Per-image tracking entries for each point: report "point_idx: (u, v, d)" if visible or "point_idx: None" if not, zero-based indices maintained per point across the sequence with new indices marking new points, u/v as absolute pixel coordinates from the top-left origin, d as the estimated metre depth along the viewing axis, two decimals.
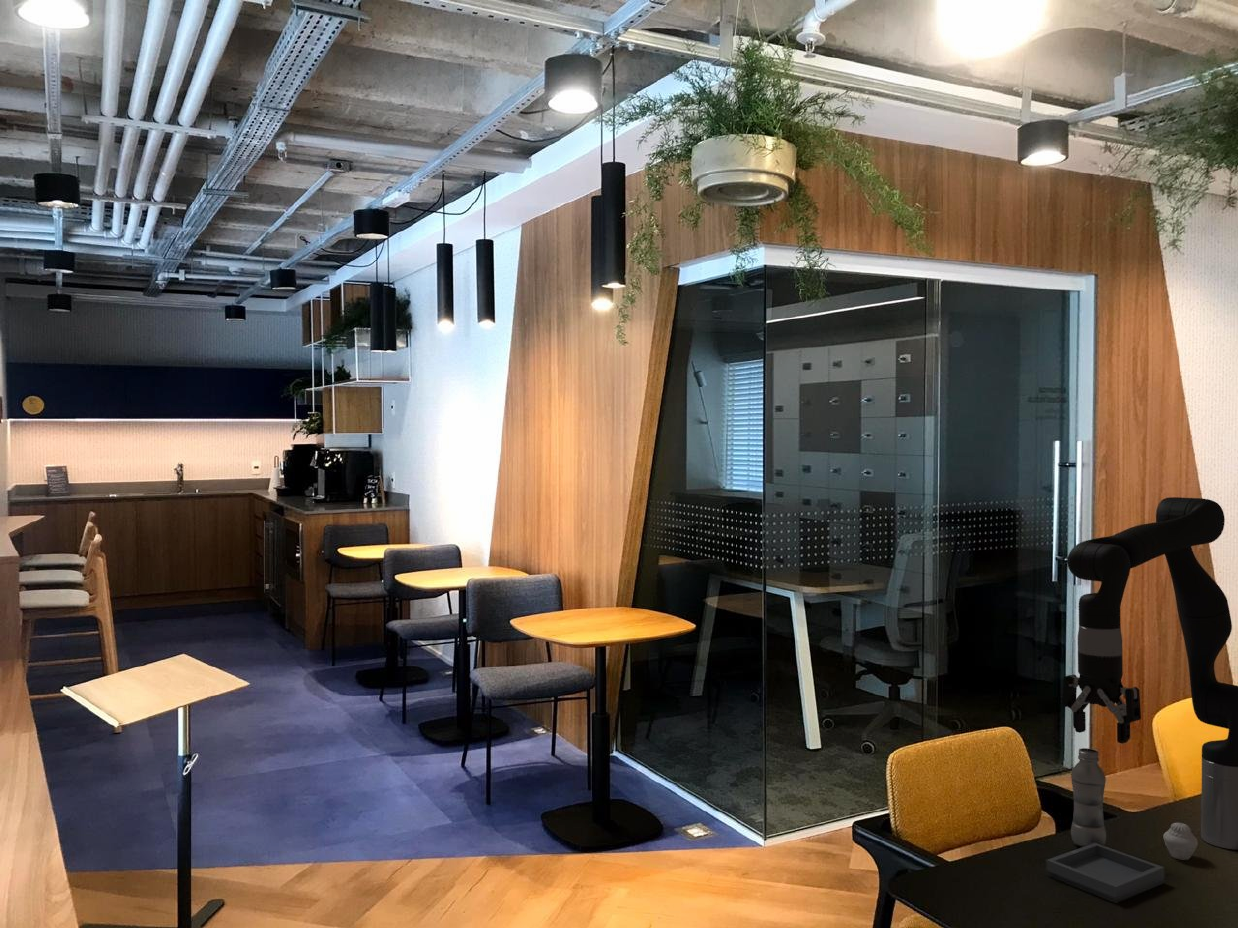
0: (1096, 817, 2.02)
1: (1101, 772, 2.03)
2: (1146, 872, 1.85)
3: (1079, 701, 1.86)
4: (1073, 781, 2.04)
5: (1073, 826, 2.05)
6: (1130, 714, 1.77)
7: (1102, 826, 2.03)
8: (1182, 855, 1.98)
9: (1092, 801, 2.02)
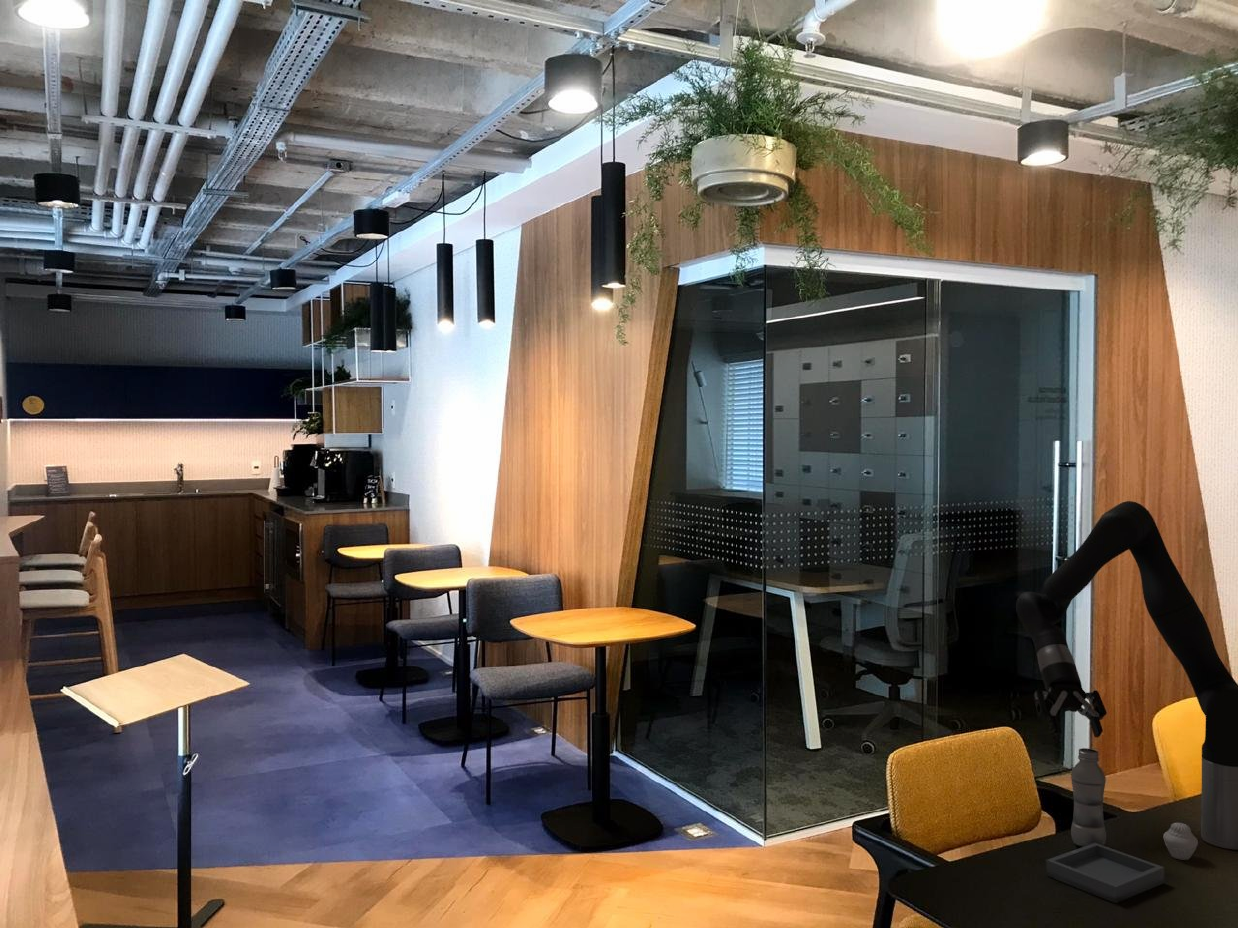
0: (1096, 817, 2.02)
1: (1101, 772, 2.03)
2: (1146, 872, 1.85)
3: None
4: (1073, 781, 2.04)
5: (1073, 826, 2.05)
6: None
7: (1102, 826, 2.03)
8: (1182, 855, 1.98)
9: (1092, 801, 2.02)
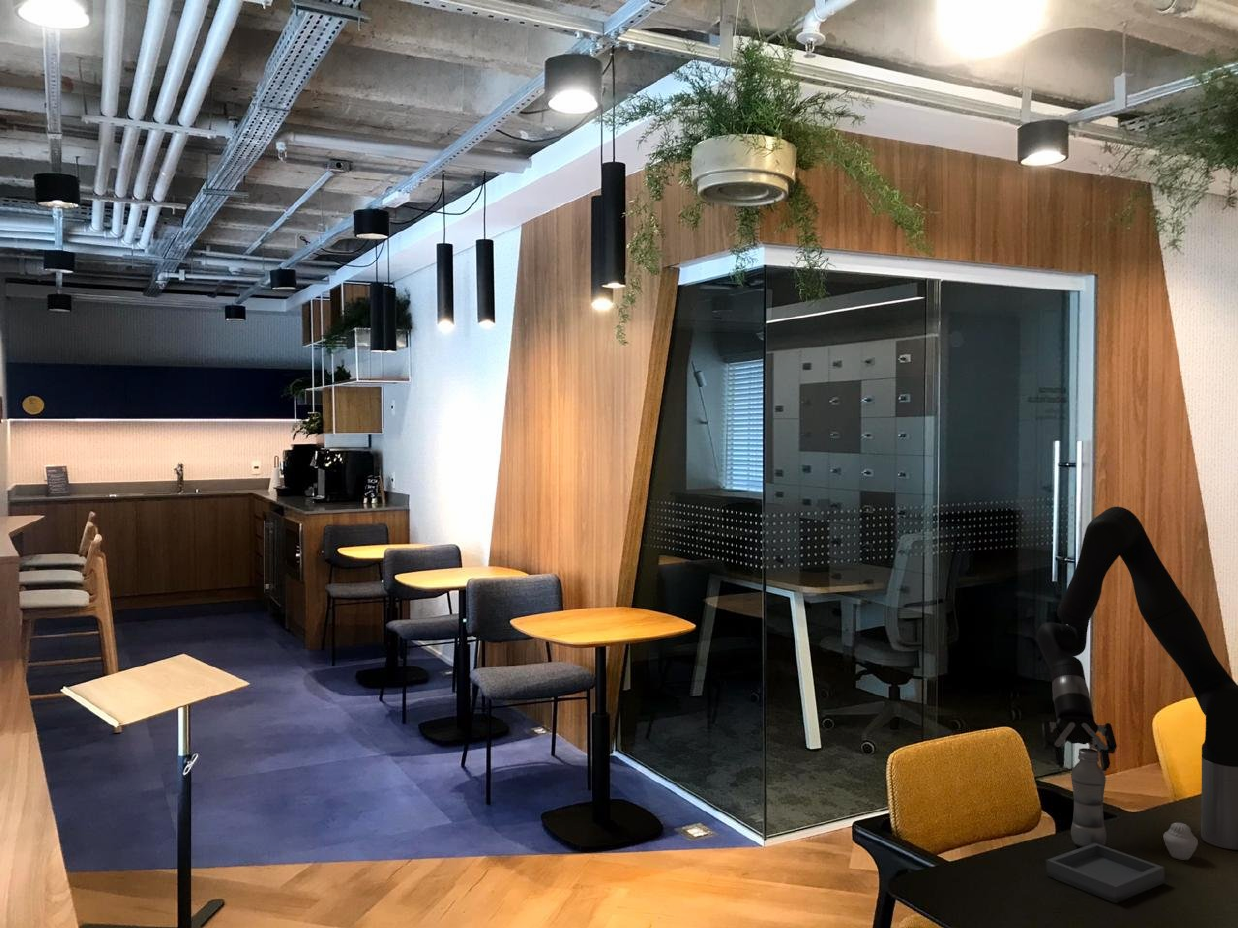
0: (1096, 817, 2.02)
1: (1101, 772, 2.03)
2: (1146, 872, 1.85)
3: None
4: (1073, 781, 2.04)
5: (1073, 826, 2.05)
6: None
7: (1102, 826, 2.03)
8: (1182, 855, 1.98)
9: (1092, 801, 2.02)
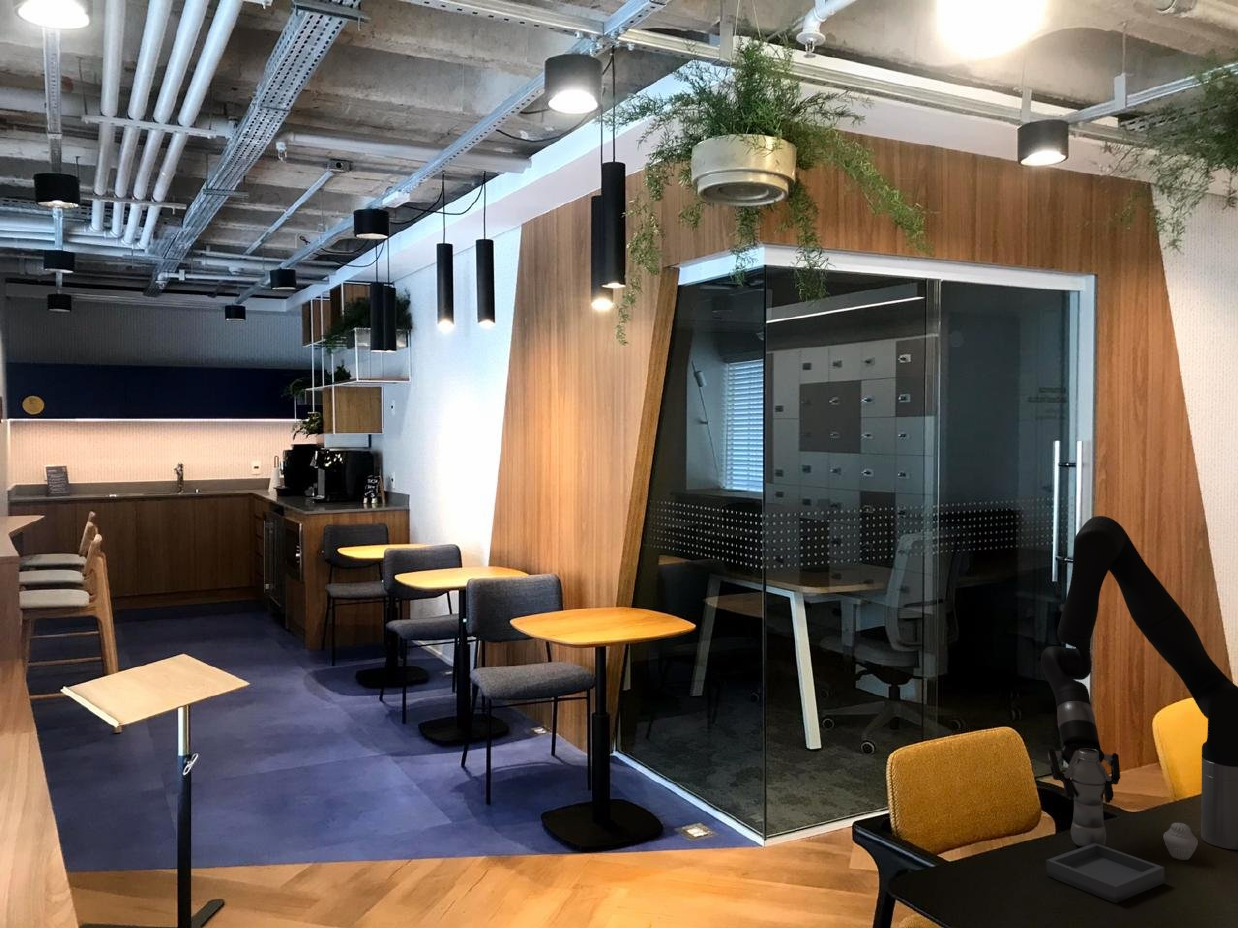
0: (1096, 817, 2.02)
1: (1101, 772, 2.03)
2: (1146, 872, 1.85)
3: None
4: (1073, 781, 2.04)
5: (1073, 826, 2.05)
6: None
7: (1102, 826, 2.03)
8: (1182, 855, 1.98)
9: (1092, 801, 2.02)
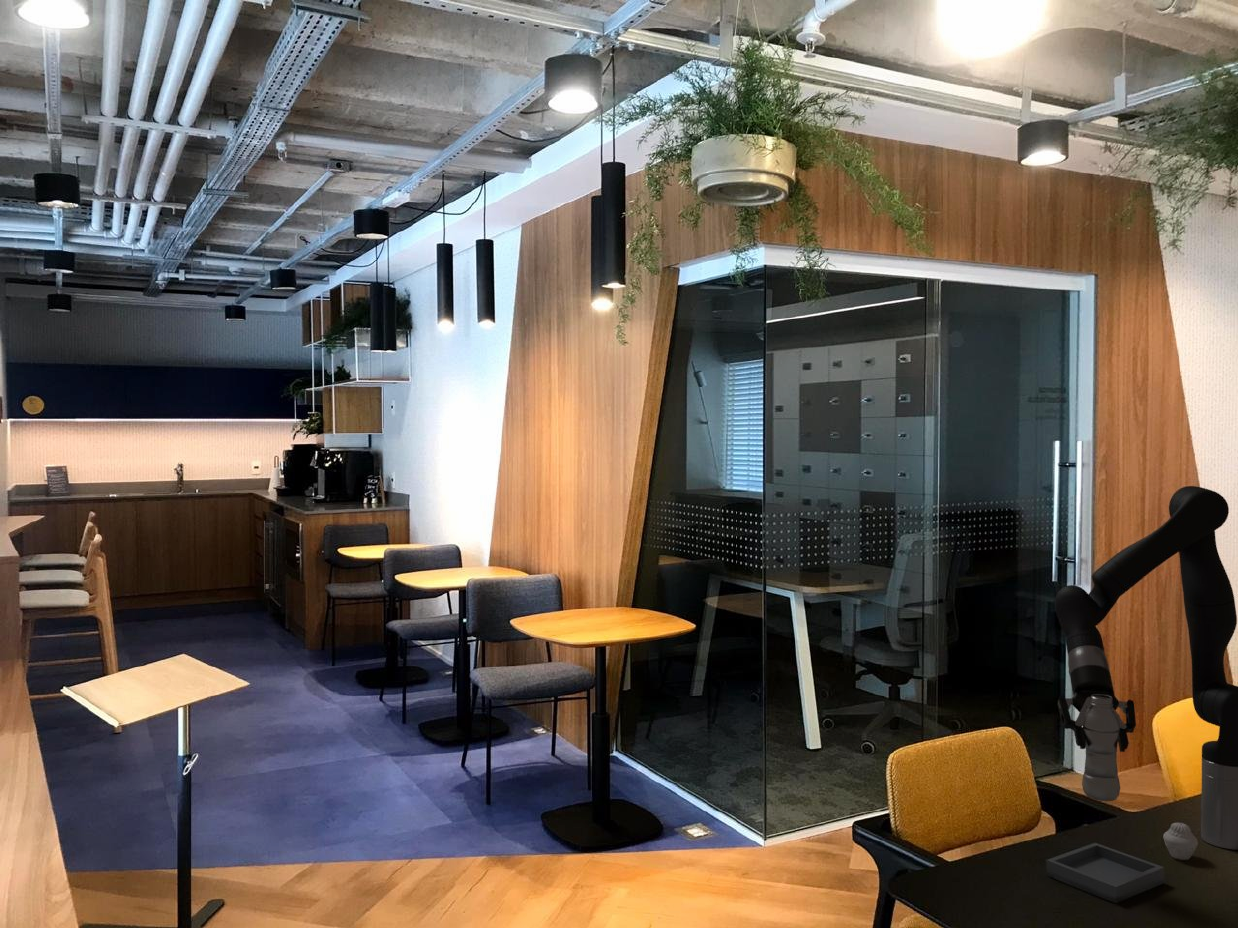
0: (1109, 766, 1.88)
1: (1115, 719, 1.89)
2: (1146, 872, 1.85)
3: None
4: (1085, 729, 1.90)
5: (1084, 777, 1.91)
6: None
7: (1116, 777, 1.89)
8: (1182, 855, 1.98)
9: (1105, 750, 1.88)
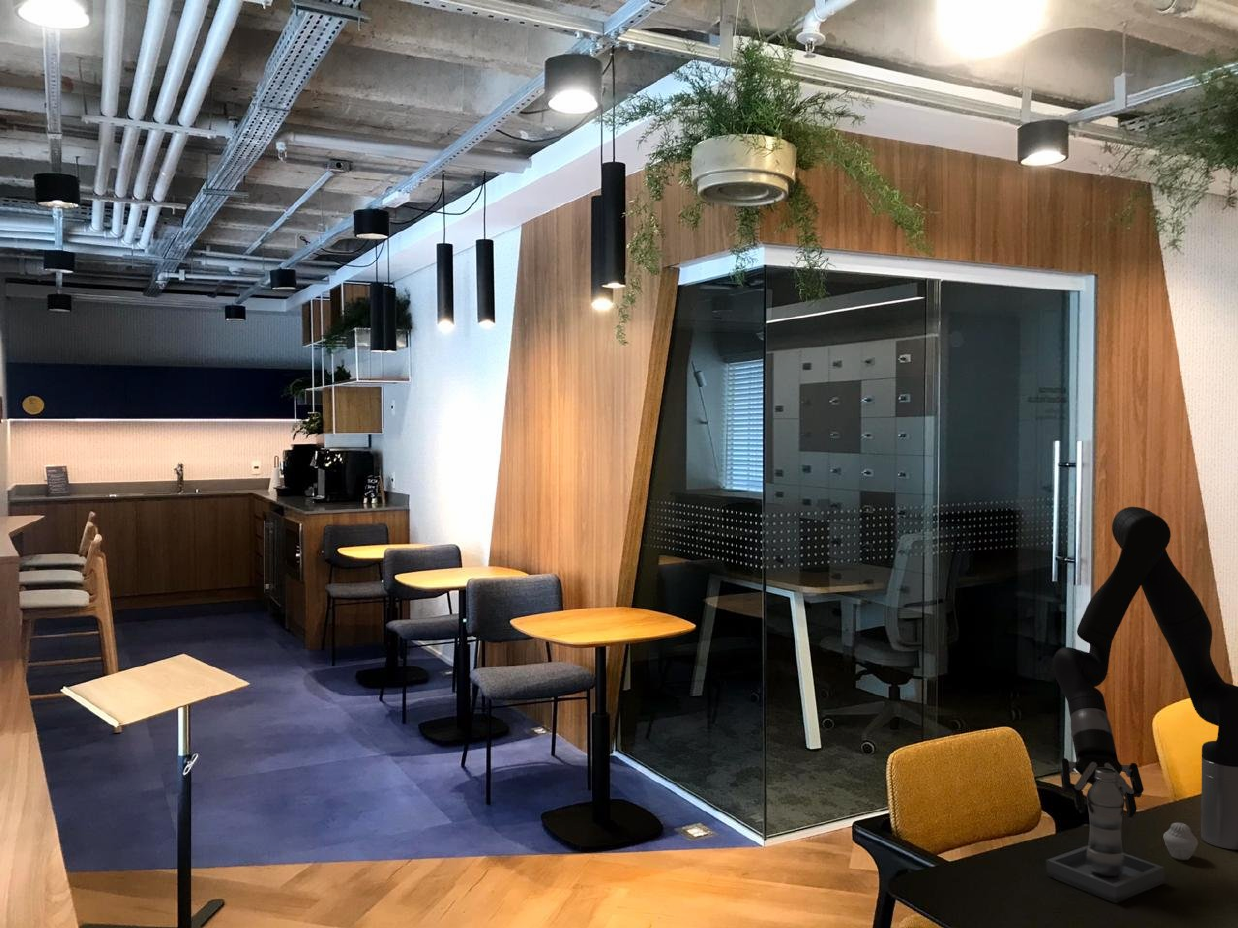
0: (1114, 842, 1.87)
1: (1120, 793, 1.87)
2: (1146, 872, 1.85)
3: None
4: (1089, 803, 1.89)
5: (1089, 851, 1.89)
6: None
7: (1120, 852, 1.87)
8: (1182, 855, 1.98)
9: (1110, 825, 1.86)
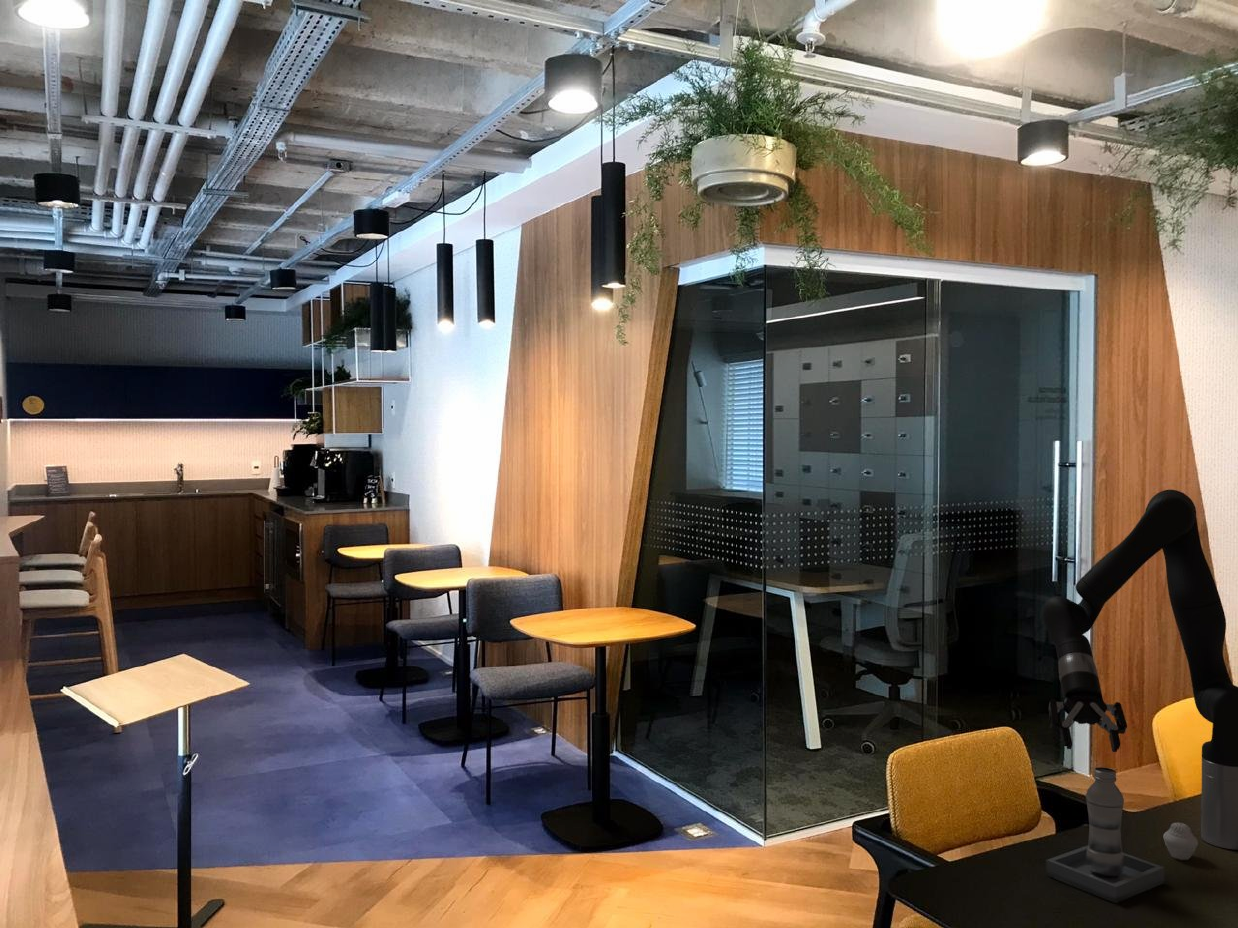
0: (1113, 841, 1.87)
1: (1119, 793, 1.87)
2: (1146, 872, 1.85)
3: None
4: (1088, 803, 1.89)
5: (1088, 851, 1.89)
6: None
7: (1120, 852, 1.87)
8: (1182, 855, 1.98)
9: (1109, 825, 1.87)
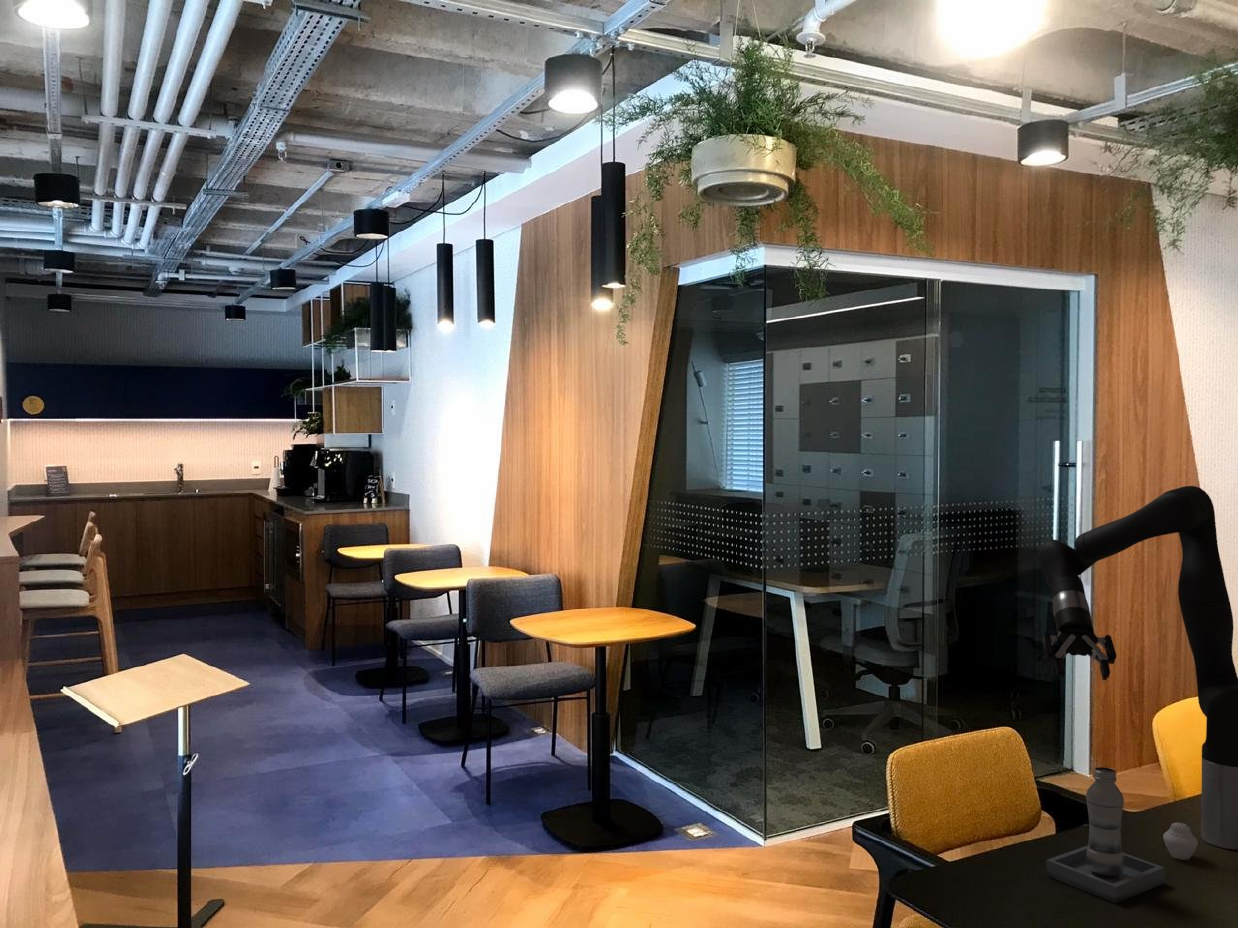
0: (1113, 841, 1.87)
1: (1119, 793, 1.87)
2: (1146, 872, 1.85)
3: None
4: (1088, 803, 1.89)
5: (1088, 851, 1.89)
6: None
7: (1120, 852, 1.87)
8: (1182, 855, 1.98)
9: (1109, 825, 1.87)
